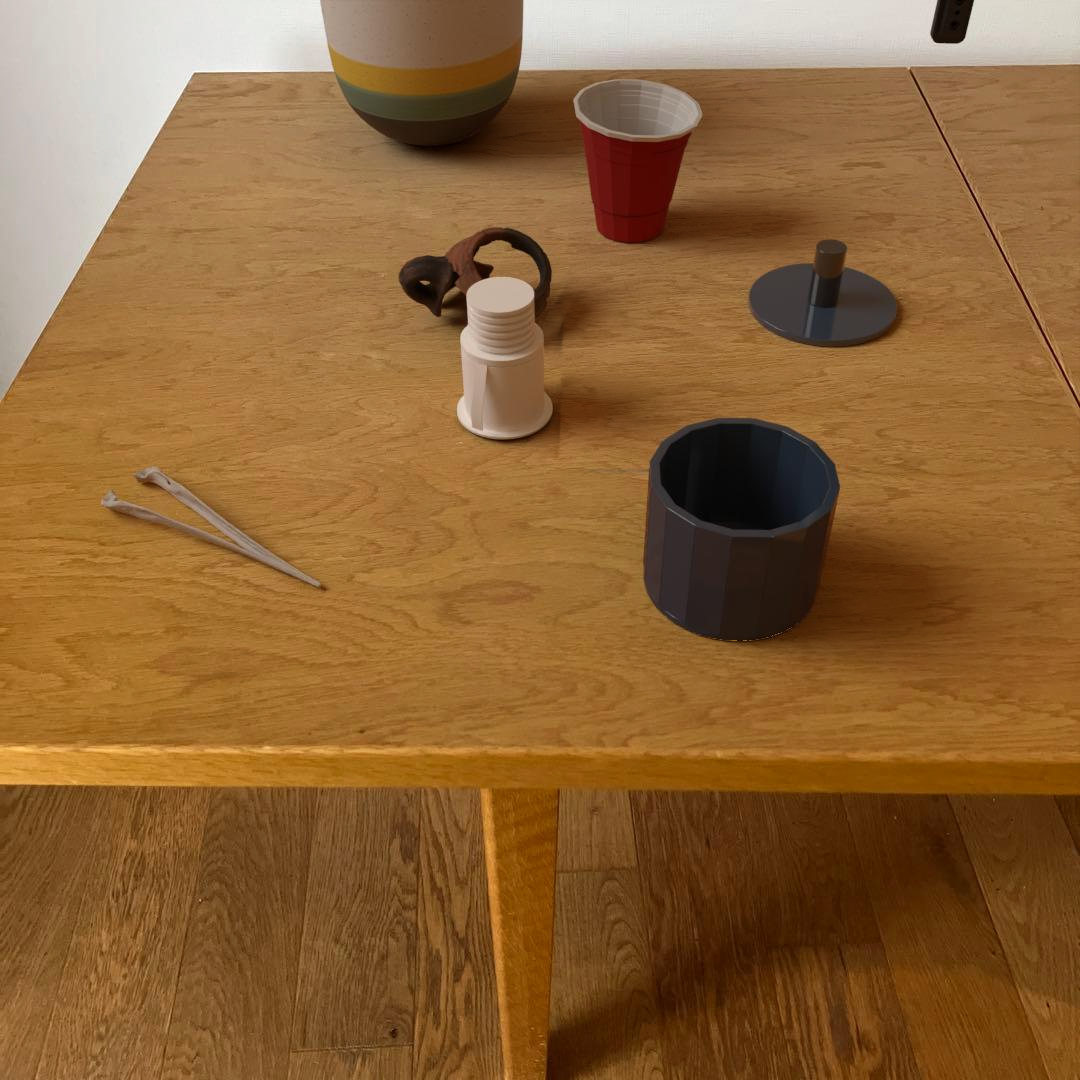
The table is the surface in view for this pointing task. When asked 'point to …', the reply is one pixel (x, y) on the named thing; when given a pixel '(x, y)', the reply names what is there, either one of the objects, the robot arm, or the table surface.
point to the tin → (737, 527)
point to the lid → (823, 301)
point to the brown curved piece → (469, 269)
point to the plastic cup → (634, 152)
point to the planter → (425, 63)
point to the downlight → (502, 362)
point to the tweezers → (206, 512)
